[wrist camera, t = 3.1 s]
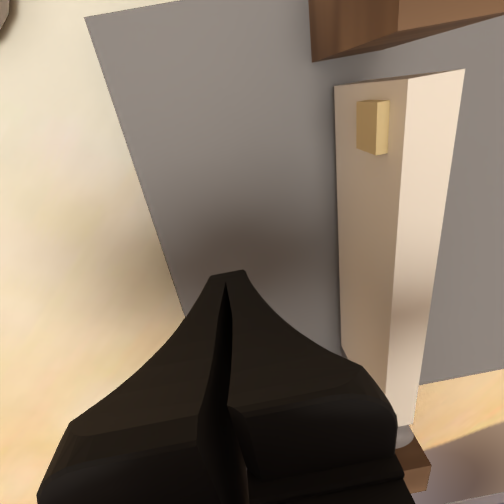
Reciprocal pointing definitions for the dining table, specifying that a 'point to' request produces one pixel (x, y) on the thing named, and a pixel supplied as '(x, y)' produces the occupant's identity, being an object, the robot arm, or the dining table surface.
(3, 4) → the rook chess piece
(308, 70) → the base
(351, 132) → the gate leaf
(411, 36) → the gate posts
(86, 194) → the dining table surface
